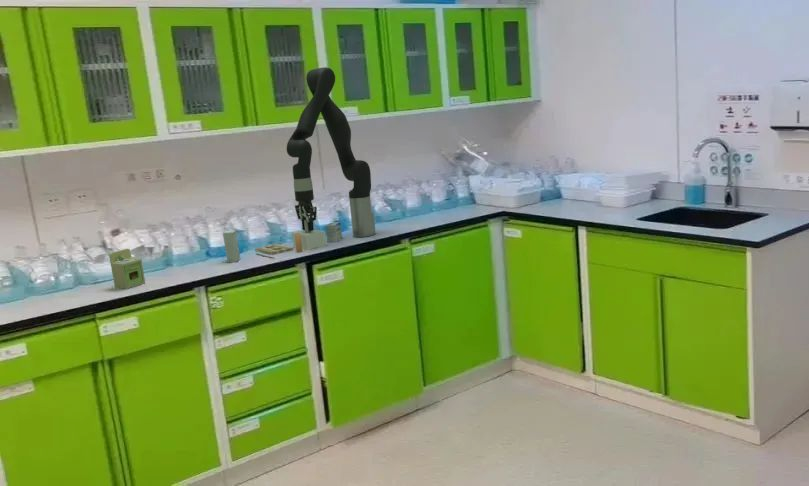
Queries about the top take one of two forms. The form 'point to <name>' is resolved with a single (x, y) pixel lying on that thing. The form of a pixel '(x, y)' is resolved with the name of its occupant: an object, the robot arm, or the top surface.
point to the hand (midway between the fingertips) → (308, 230)
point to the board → (314, 248)
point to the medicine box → (333, 232)
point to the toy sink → (126, 269)
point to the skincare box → (231, 246)
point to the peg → (298, 242)
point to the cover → (311, 238)
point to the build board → (273, 250)
